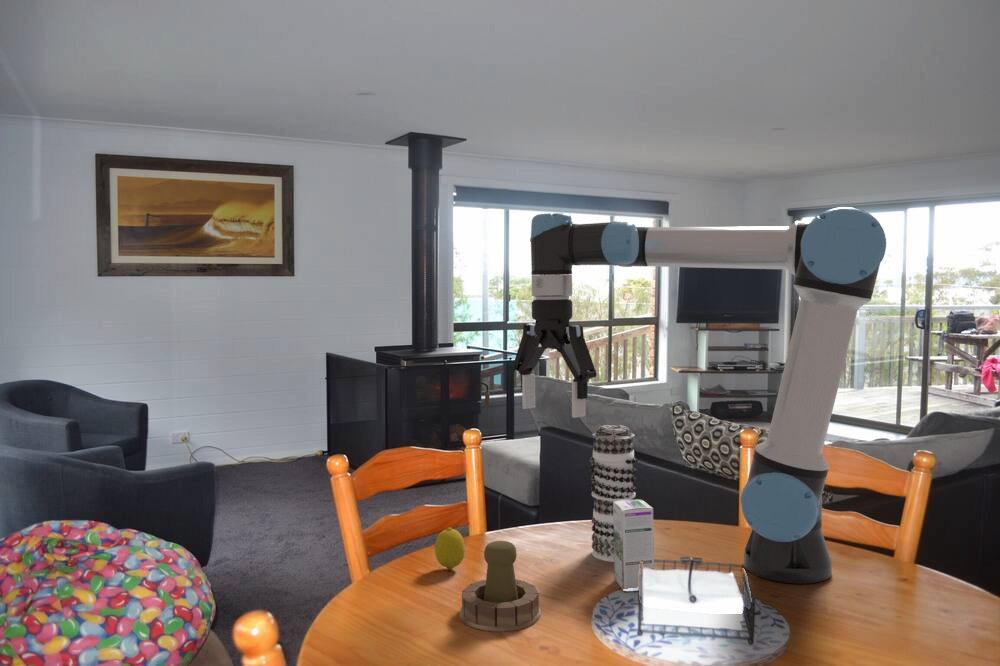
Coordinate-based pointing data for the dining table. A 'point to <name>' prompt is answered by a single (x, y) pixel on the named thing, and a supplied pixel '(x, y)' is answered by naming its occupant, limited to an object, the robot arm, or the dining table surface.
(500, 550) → the olive green knobbed peg
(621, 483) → the decorative candle
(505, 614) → the collar
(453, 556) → the lemon
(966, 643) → the dining table surface
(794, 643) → the dining table surface
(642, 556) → the syrup box
